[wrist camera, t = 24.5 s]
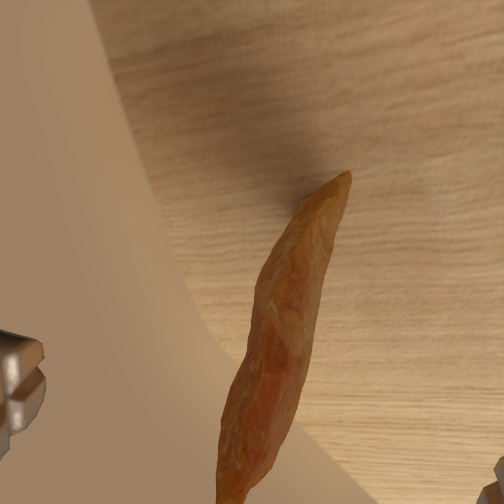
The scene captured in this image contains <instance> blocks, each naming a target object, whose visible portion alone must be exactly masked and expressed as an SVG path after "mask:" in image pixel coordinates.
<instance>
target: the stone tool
mask: <svg viewBox="0 0 504 504" xmlns="http://www.w3.org/2000/svg"><path fill="white" fill-rule="evenodd" d="M351 183H352V177H351V172H349V171H347V172H343V173H342V174H340V175H339V176H337V177H335V178H334V179H332V180H331V181H329V182H327V183H325V184H324V185H323V186H322V187H321V188H320V189H319V190H318V191H317V192H315V193H313V194H312V195H311V196H309V197H308V198H305V199H303V200H302V201H301V203H300V205H299V207H298V210H297V211H296V212H295V214H294V216H293V218H292V220H291V222H290V223H289V224H288V226H287V228H286V229H285V231H284V233H283V234H282V236H281V237H280V238H279V240H278V241H277V242H276V244H275V245H274V247H273V249H272V251H271V254H270V256H269V257H268V259H267V261H266V263H265V264H264V266H263V268H262V270H261V272H260V274H259V277H258V280H257V282H256V286H255V296H254V305H253V311H252V319H251V329H250V333H249V336H248V344H247V352H246V356H245V358H244V360H243V362H242V364H241V366H240V368H239V370H238V372H237V374H236V377H235V379H234V381H233V383H232V385H231V387H230V391H229V394H228V398H227V401H226V404H225V408H224V411H223V415H222V418H221V431H220V437H219V443H218V462H217V470H216V504H244V501H245V499H246V496H247V494H248V492H249V490H250V489H251V488H252V487H254V486H256V485H257V484H258V483H259V482H260V481H261V480H262V479H263V478H264V477H265V475H266V474H267V473H268V472H269V471H270V470H271V469H272V466H273V464H274V462H275V459H276V457H277V454H278V451H279V448H280V446H281V445H282V444H283V442H284V440H285V438H286V436H287V433H288V432H289V429H290V426H291V424H292V421H293V418H294V415H295V413H296V410H297V407H298V403H299V399H300V395H301V391H302V388H303V385H304V383H305V379H306V376H307V372H308V368H309V363H310V358H311V353H312V345H313V338H314V331H315V325H316V320H317V315H318V310H319V304H320V298H321V291H322V285H323V280H324V276H325V273H326V270H327V267H328V264H329V261H330V258H331V255H332V252H333V246H334V239H335V235H336V232H337V229H338V225H339V223H340V221H341V219H342V216H343V213H344V210H345V207H346V204H347V199H348V195H349V192H350V188H351Z"/></svg>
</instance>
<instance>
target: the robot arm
mask: <svg viewBox="0 0 504 504" xmlns="http://www.w3.org/2000/svg"><path fill="white" fill-rule="evenodd" d="M43 359H44V351H43V343H41V342H40V341H38V340H37V339H33V338H29V337H26V336H22V335H18V334H15V333H11V332H7V331H4V330H0V460H1V459H2V457H3V456H4V455H5V454H6V453H7V451H8V450H9V447H10V443H9V442H10V436H12V435H14V434H16V433H19V432H21V431H23V430H25V429H26V428H27V427H28V426H29V425H30V423H31V422H32V421H33V420H34V418H35V417H36V416H37V414H38V411H39V409H40V407H41V405H42V403H43V400H44V396H45V391H46V377H45V376H44V375H43V373H42V372H41V370H40V369H39V368H38V365H39V363H40V362H41V361H42V360H43ZM494 472H495V474H496V477H497V480H498V481H496V482H494V483H492V484H490V485H488V486H485V487H483V490H482V492H481V494H480V496H479V498H478V500H477V504H504V456H503V457H501V458H500V459H499V461H498V462H497V464H496V466H495V468H494Z"/></svg>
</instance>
